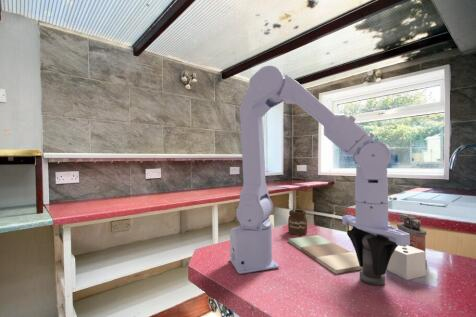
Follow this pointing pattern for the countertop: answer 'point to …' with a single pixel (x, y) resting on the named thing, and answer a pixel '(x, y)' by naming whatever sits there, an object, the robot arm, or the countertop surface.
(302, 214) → the utensil holder
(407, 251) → the die
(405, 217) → the lighter
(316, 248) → the board
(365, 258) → the pawn
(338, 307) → the countertop surface
